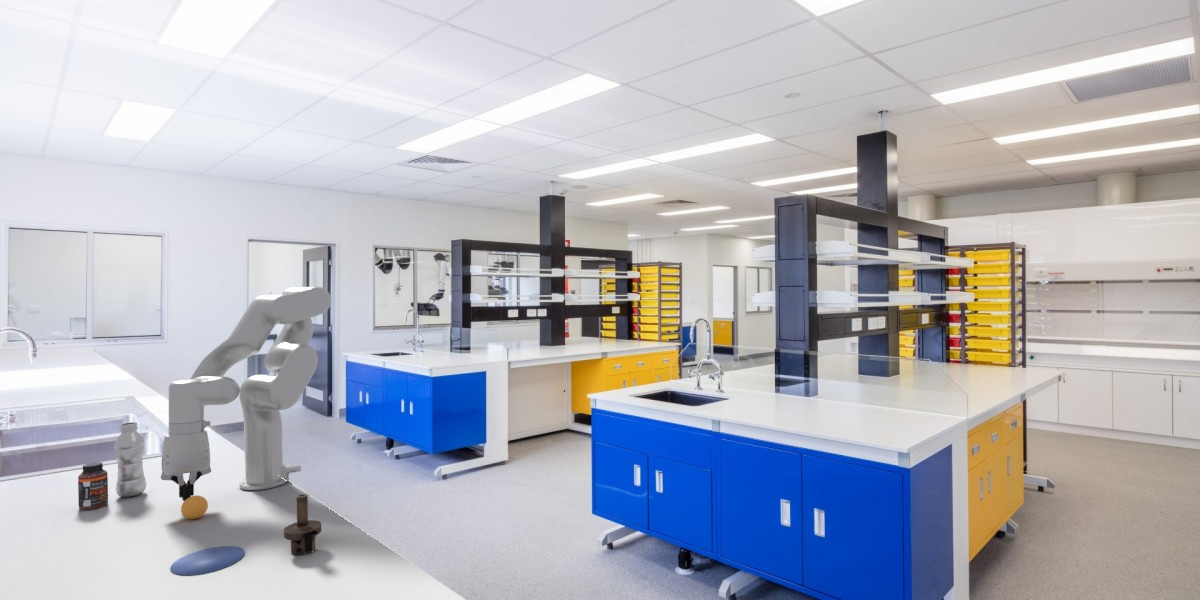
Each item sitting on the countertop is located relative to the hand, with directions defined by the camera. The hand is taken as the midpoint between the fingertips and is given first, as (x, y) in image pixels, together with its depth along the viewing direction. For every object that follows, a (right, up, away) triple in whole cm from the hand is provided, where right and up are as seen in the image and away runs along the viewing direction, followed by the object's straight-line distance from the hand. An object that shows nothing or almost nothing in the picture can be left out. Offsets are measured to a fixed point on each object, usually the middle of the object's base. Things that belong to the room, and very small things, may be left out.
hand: (186, 499), depth 156 cm
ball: (+6, 0, -6) cm, 9 cm away
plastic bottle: (-23, -3, +11) cm, 25 cm away
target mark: (+25, -3, -30) cm, 39 cm away
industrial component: (+42, -3, -25) cm, 49 cm away
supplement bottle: (-26, -3, +3) cm, 26 cm away
